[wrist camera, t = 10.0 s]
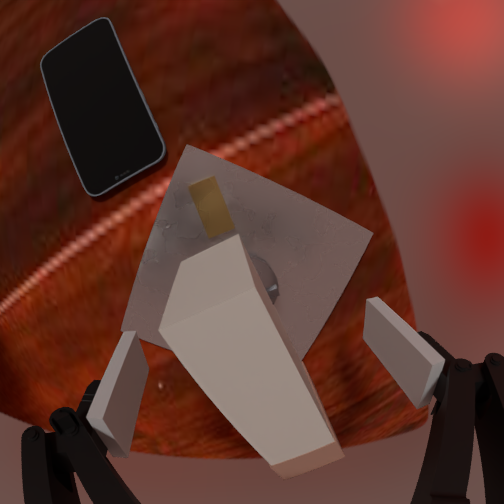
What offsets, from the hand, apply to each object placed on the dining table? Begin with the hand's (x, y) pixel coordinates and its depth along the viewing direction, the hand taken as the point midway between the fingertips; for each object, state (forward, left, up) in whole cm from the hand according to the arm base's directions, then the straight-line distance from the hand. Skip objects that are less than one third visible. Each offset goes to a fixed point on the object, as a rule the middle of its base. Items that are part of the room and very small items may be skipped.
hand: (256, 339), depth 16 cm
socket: (0, 0, -9) cm, 9 cm away
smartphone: (+9, +17, -10) cm, 21 cm away
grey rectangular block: (0, 0, -2) cm, 2 cm away
